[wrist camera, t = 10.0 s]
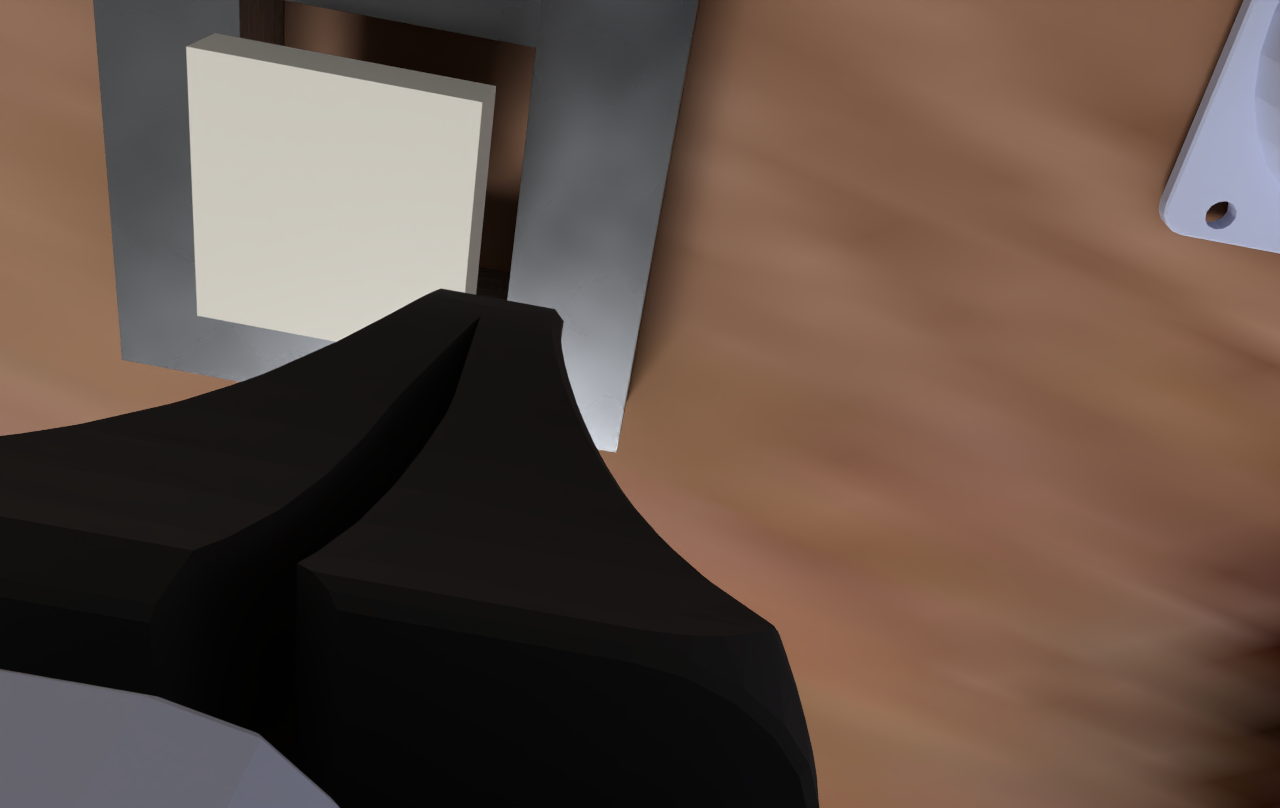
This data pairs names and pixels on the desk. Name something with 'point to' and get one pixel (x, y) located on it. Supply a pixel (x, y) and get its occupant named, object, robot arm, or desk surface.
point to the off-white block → (330, 185)
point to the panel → (549, 192)
